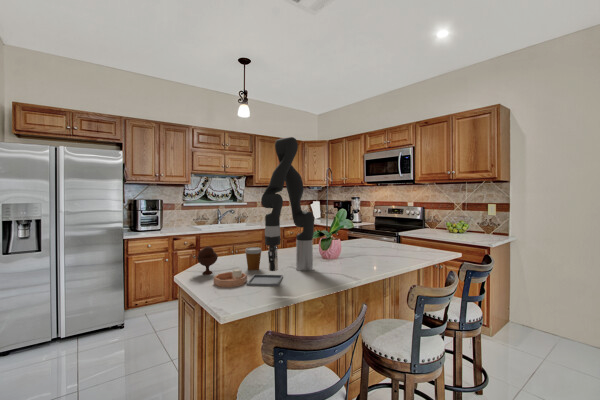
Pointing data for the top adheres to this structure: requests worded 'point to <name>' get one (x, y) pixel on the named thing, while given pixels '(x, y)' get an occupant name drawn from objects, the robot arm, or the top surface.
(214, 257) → the ice cream bowl
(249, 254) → the disposable coffee cup
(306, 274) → the top surface
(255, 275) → the tray
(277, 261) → the pebble
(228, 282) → the terracotta bowl
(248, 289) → the top surface
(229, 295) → the top surface
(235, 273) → the pebble
